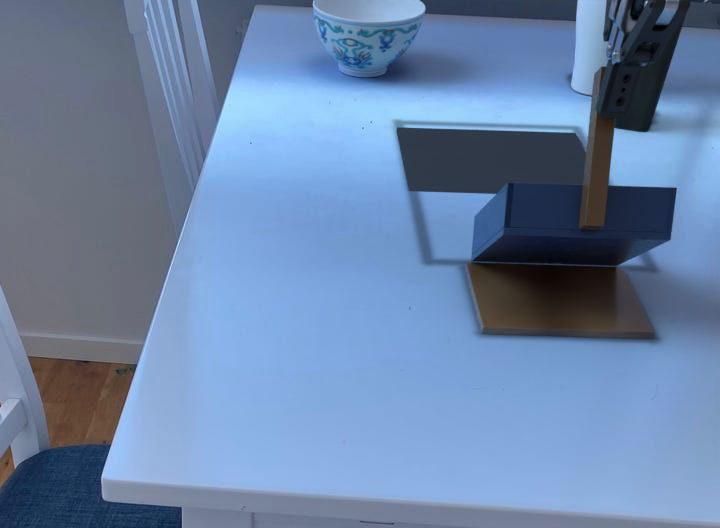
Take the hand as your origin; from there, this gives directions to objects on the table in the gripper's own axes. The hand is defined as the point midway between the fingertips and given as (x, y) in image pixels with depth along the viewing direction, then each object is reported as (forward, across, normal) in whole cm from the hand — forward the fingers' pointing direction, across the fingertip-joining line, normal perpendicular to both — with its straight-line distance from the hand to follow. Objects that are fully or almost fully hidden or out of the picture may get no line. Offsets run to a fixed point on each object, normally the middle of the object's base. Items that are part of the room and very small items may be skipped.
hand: (610, 115), depth 74 cm
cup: (+16, +61, -17) cm, 65 cm away
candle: (+16, +49, -19) cm, 55 cm away
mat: (+16, +26, 0) cm, 30 cm away
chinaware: (+16, +66, +14) cm, 69 cm away
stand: (+17, +1, 0) cm, 17 cm away
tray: (+11, +1, 0) cm, 11 cm away
